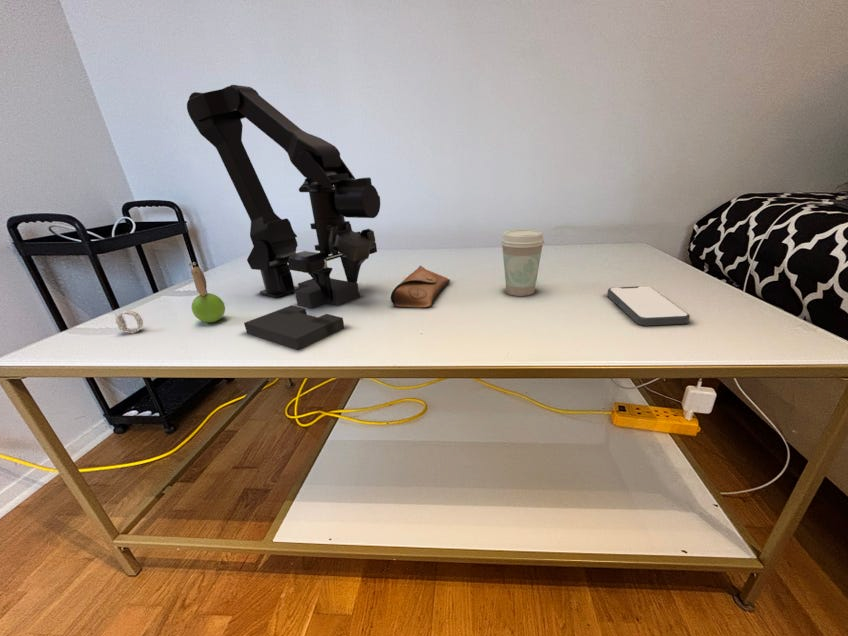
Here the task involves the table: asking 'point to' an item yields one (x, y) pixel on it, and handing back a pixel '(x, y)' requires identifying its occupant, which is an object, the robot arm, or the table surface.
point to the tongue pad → (314, 295)
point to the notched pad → (294, 327)
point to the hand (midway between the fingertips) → (342, 294)
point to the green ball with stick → (205, 299)
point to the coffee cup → (521, 260)
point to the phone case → (647, 306)
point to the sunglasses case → (418, 289)
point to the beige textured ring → (122, 324)
